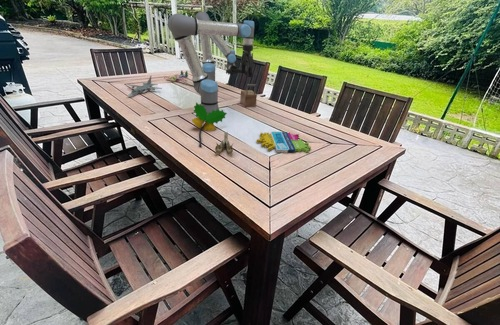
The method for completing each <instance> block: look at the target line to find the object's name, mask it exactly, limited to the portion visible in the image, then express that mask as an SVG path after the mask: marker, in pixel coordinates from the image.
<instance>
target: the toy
mask: <svg viewBox="0 0 500 325" xmlns="http://www.w3.org/2000/svg"><path fill="white" fill-rule="evenodd" d="M188 76H189V74H188V70H186V71H185V73H184V71H183V70H181V71H180V74H174V75H171V76H166V75H164V76H163V79H164V80H166V79H167V80H170V81H169V82H174V81H184V82H187V78H188ZM174 83H175V82H174Z"/></svg>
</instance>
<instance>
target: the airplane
mask: <svg viewBox="0 0 500 325" xmlns="http://www.w3.org/2000/svg"><path fill="white" fill-rule="evenodd" d="M158 85H159V84H158V83H152V75H150V76H149V78H148V80H147V82H142V85H138V84H137V85H136V84H129V83H128V84H127V86H129V87H131V88H130V90H131V92H130V93H129V94H128V95H127V98H133V97H135V96H137V95H139V94H145V93H147V92H150V91H151V93H152V92H154V91H155V90H156V89H159V90H160V89H162V87H155V86H158Z"/></svg>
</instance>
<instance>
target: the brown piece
mask: <svg viewBox="0 0 500 325" xmlns="http://www.w3.org/2000/svg"><path fill="white" fill-rule="evenodd" d="M249 87H254V89H253V90H252V89H249ZM256 87H257V84H256V83H246V89H245V90H243V89H242V90H240V94H241V93H243V94H244V95H245V96H246V97H247V96H257V97H258V94H257V93H256V89H257V88H256Z"/></svg>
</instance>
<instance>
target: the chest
mask: <svg viewBox="0 0 500 325" xmlns="http://www.w3.org/2000/svg"><path fill="white" fill-rule="evenodd" d="M257 97H258V95H257V96H247V97H246V96H245V95H244V94H243V93H241V92H240V99H239V100H240V101H239V103H240V105H242V106H243V107H244V108H255V107H257V99H258V98H257Z"/></svg>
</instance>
